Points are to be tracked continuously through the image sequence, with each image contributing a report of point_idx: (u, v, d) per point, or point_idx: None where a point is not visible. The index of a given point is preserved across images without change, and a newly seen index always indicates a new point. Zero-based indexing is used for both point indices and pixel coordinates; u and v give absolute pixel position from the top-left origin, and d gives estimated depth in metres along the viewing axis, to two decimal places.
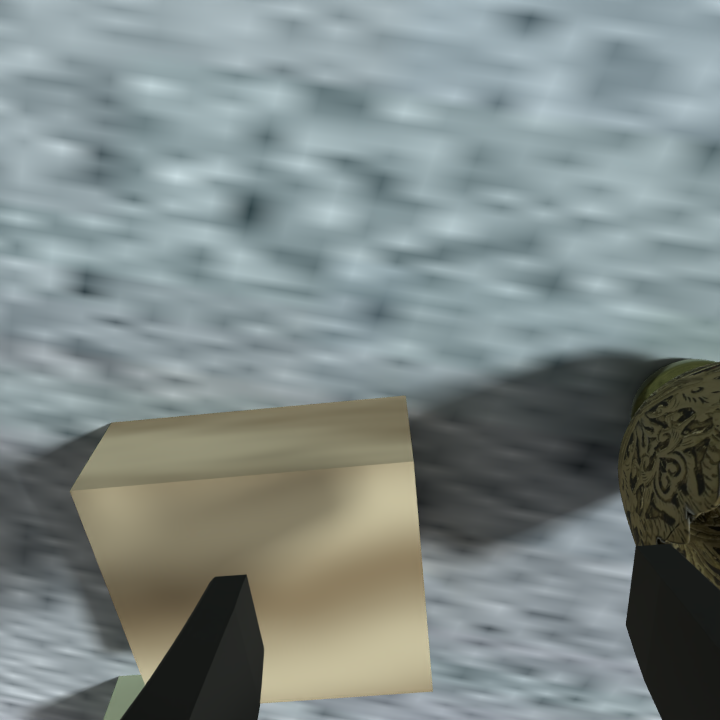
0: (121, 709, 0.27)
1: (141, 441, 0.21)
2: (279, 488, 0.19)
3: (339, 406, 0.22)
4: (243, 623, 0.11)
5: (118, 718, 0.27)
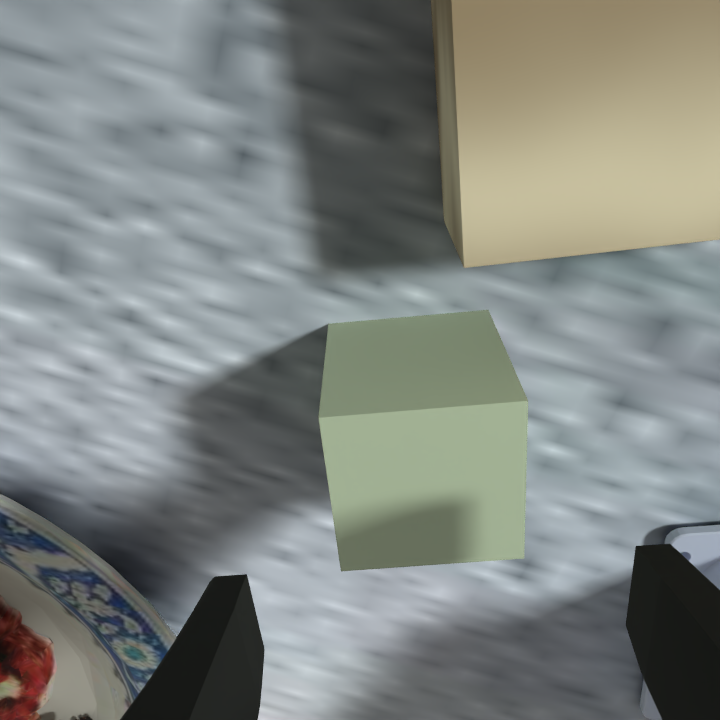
0: (349, 346, 0.17)
1: None
2: None
3: None
4: (242, 623, 0.11)
5: (349, 353, 0.17)
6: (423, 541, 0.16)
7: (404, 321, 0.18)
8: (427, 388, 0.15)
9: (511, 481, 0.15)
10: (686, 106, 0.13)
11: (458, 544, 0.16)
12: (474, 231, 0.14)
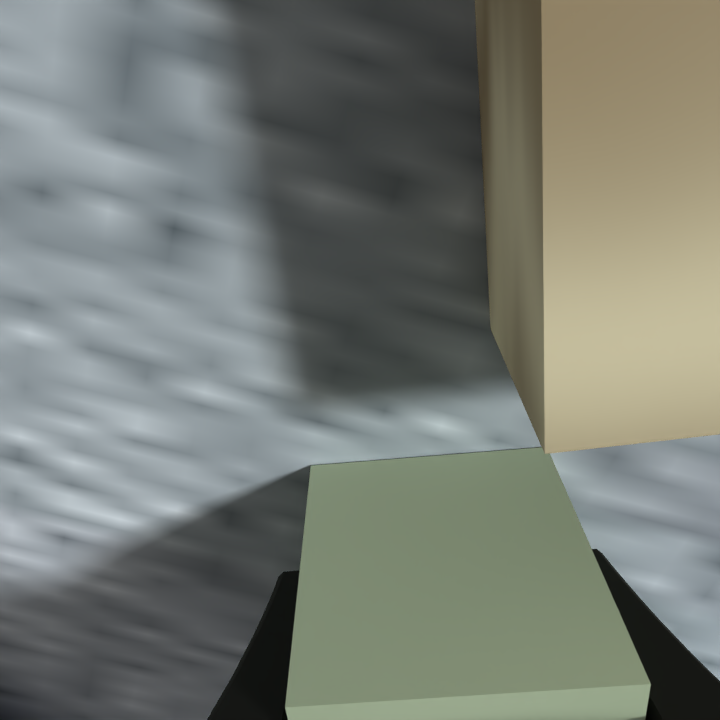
0: (340, 520, 0.11)
1: None
2: None
3: None
4: None
5: (340, 536, 0.11)
6: None
7: (423, 467, 0.12)
8: (469, 635, 0.09)
9: None
10: None
11: None
12: (567, 398, 0.08)
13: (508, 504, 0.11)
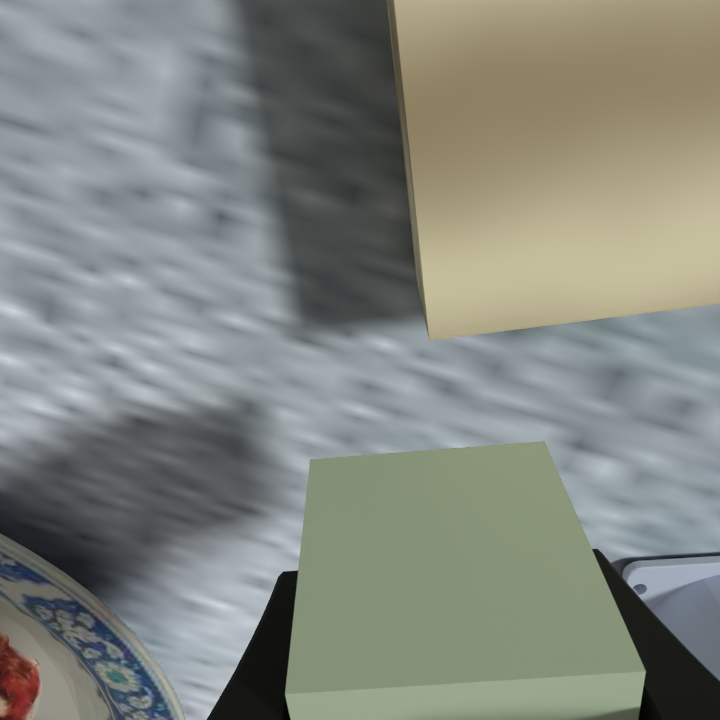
0: (340, 513, 0.11)
1: None
2: None
3: None
4: None
5: (339, 528, 0.11)
6: None
7: (422, 461, 0.12)
8: (467, 625, 0.09)
9: None
10: (626, 196, 0.14)
11: None
12: (438, 308, 0.15)
13: (506, 497, 0.11)
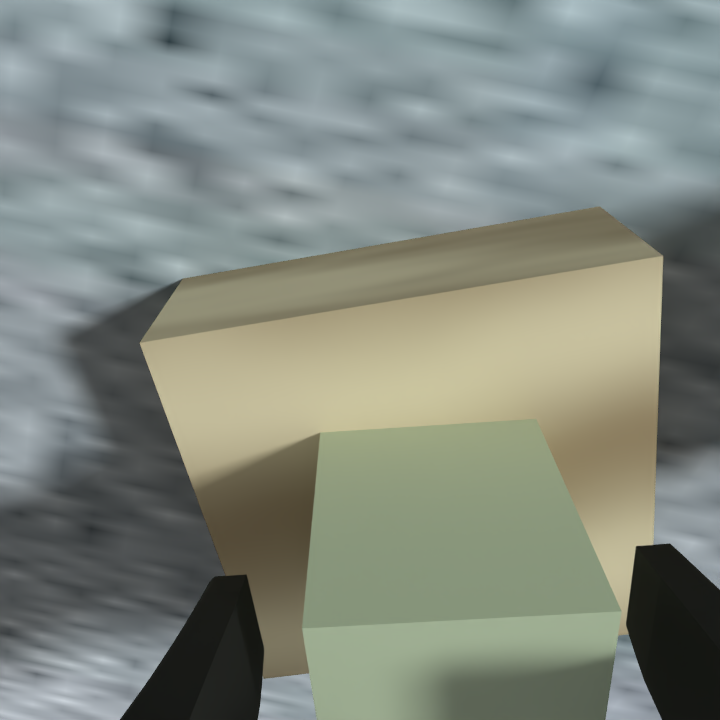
0: (348, 479, 0.12)
1: (231, 287, 0.15)
2: (451, 318, 0.13)
3: (505, 225, 0.15)
4: (243, 622, 0.11)
5: (348, 492, 0.12)
6: None
7: (423, 435, 0.13)
8: (465, 573, 0.10)
9: (585, 710, 0.10)
10: None
11: None
12: (266, 658, 0.17)
13: (500, 466, 0.12)
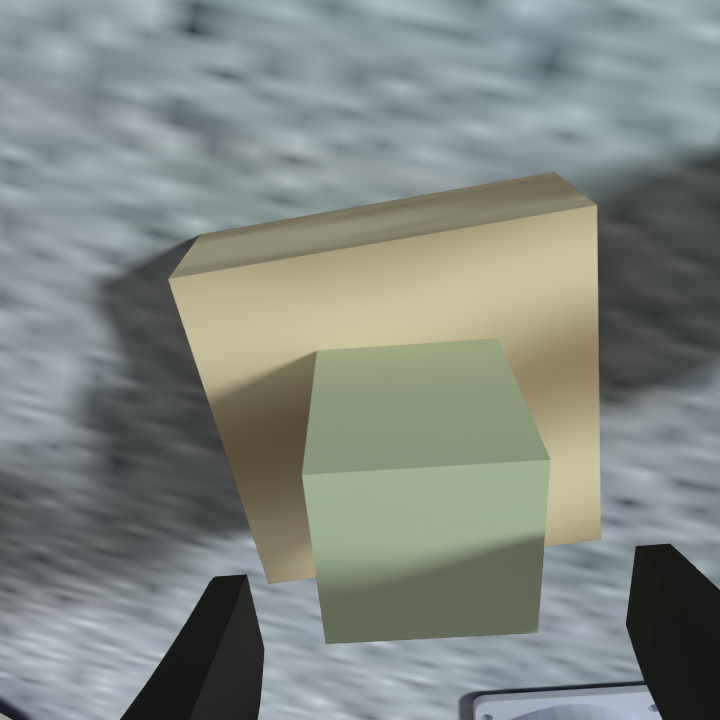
0: (340, 381, 0.15)
1: (242, 239, 0.17)
2: (425, 257, 0.15)
3: (475, 188, 0.18)
4: (243, 623, 0.11)
5: (339, 390, 0.15)
6: (422, 612, 0.14)
7: (403, 351, 0.16)
8: (431, 439, 0.13)
9: (527, 549, 0.13)
10: None
11: (462, 616, 0.14)
12: (271, 564, 0.20)
13: (465, 371, 0.15)
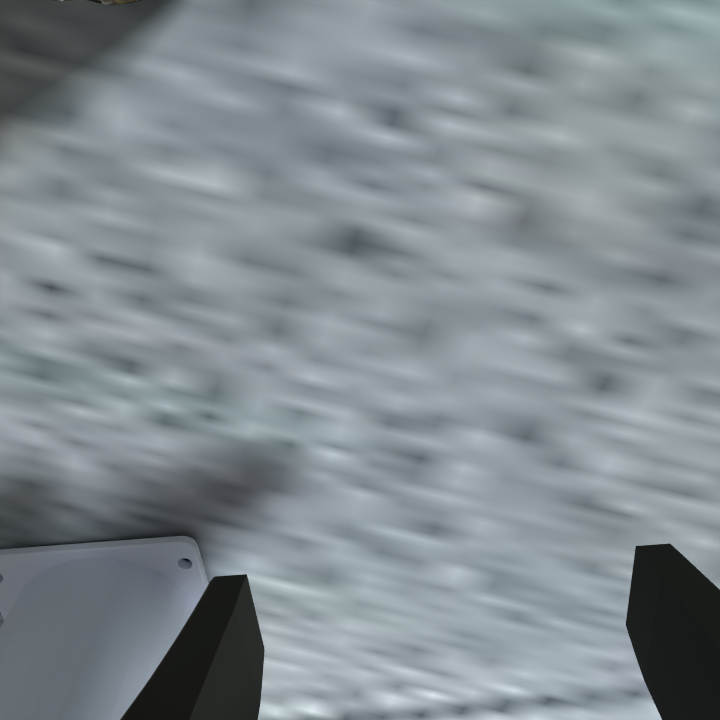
0: None
1: None
2: None
3: None
4: (243, 622, 0.11)
5: None
6: None
7: None
8: None
9: None
10: None
11: None
12: None
13: None
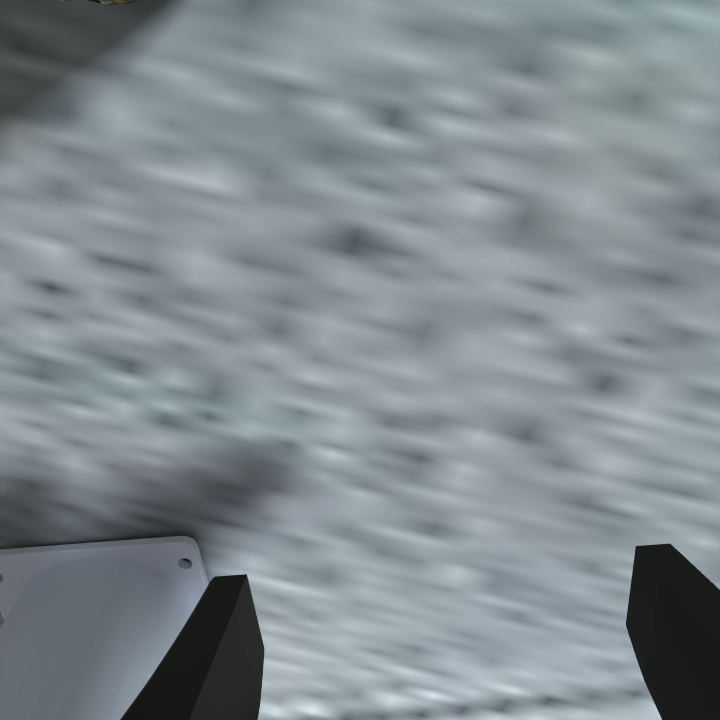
0: None
1: None
2: None
3: None
4: (243, 622, 0.11)
5: None
6: None
7: None
8: None
9: None
10: None
11: None
12: None
13: None
